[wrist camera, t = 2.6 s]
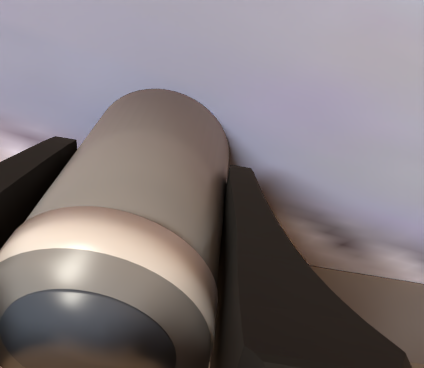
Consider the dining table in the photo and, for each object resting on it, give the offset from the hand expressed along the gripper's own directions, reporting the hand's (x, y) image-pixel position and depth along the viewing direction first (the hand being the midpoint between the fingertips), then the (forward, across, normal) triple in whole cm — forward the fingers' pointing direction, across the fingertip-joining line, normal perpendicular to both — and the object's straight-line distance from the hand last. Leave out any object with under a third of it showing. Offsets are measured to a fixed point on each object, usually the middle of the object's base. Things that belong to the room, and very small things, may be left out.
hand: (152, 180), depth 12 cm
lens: (+2, 0, 0) cm, 2 cm away
